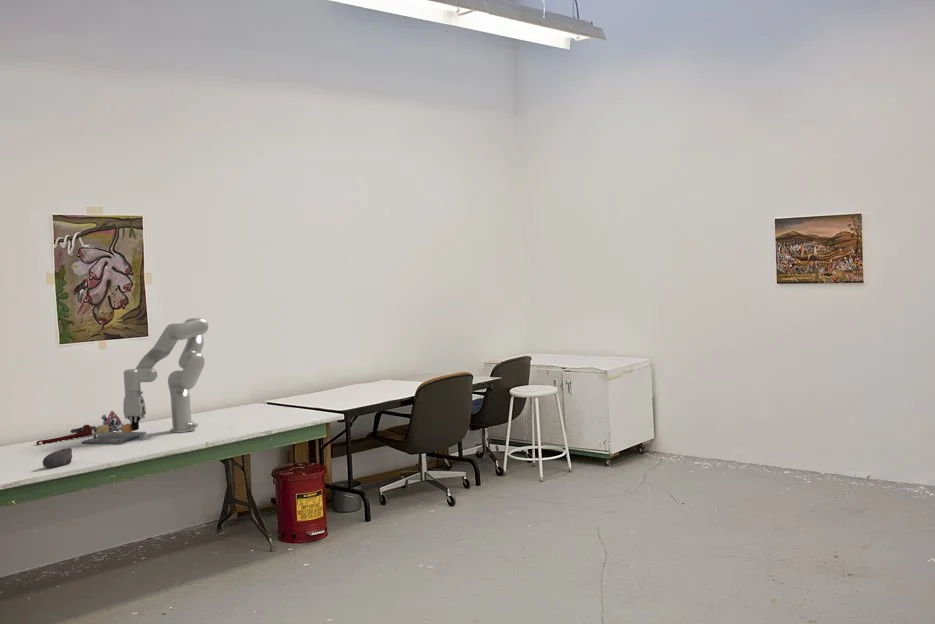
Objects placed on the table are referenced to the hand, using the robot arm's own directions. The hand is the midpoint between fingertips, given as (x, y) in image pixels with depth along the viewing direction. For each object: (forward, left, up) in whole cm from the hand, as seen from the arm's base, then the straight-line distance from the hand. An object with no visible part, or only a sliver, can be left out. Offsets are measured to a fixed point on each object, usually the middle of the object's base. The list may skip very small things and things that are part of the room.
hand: (135, 429), depth 435 cm
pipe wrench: (+39, +1, -5) cm, 39 cm away
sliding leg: (+4, +3, -2) cm, 6 cm away
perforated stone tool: (-1, +58, -5) cm, 58 cm away
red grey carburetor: (+29, -22, -5) cm, 37 cm away
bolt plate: (+8, +5, -5) cm, 11 cm away
